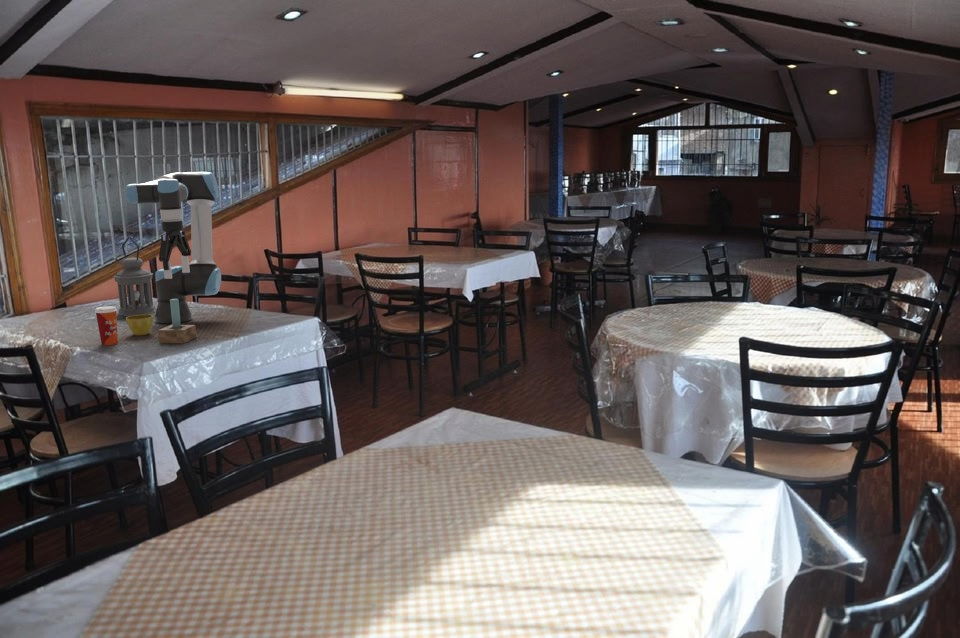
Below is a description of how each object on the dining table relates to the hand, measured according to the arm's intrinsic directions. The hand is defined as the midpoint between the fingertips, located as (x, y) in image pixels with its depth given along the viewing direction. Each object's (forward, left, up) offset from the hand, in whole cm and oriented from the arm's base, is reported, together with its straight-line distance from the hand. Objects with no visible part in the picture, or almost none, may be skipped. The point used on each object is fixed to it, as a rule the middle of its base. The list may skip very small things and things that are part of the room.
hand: (177, 275), depth 305 cm
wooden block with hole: (+4, 0, -25) cm, 25 cm away
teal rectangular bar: (+4, 0, -25) cm, 25 cm away
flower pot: (-6, -21, -25) cm, 33 cm away
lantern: (-51, -49, -25) cm, 74 cm away
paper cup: (+11, -24, -25) cm, 36 cm away
